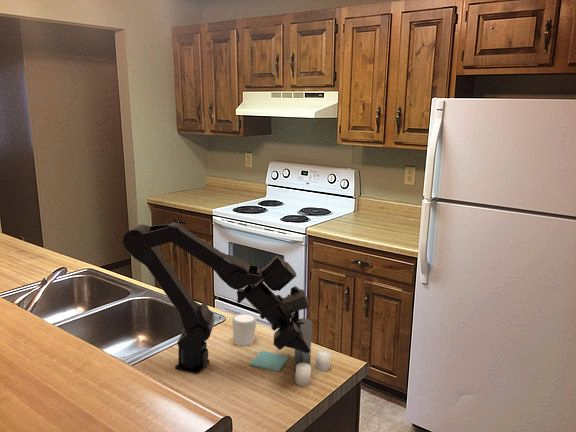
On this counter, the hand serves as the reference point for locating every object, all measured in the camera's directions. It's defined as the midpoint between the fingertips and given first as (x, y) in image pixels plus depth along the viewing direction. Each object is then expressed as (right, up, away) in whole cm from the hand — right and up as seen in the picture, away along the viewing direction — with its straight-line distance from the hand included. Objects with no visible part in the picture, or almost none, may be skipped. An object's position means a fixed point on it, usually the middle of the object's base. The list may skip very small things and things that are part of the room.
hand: (308, 346), depth 122 cm
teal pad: (-10, -5, +5) cm, 12 cm away
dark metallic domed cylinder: (-2, -6, +1) cm, 7 cm away
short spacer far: (+4, -6, +3) cm, 8 cm away
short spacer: (-2, -7, -4) cm, 9 cm away
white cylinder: (-18, -3, +16) cm, 24 cm away
